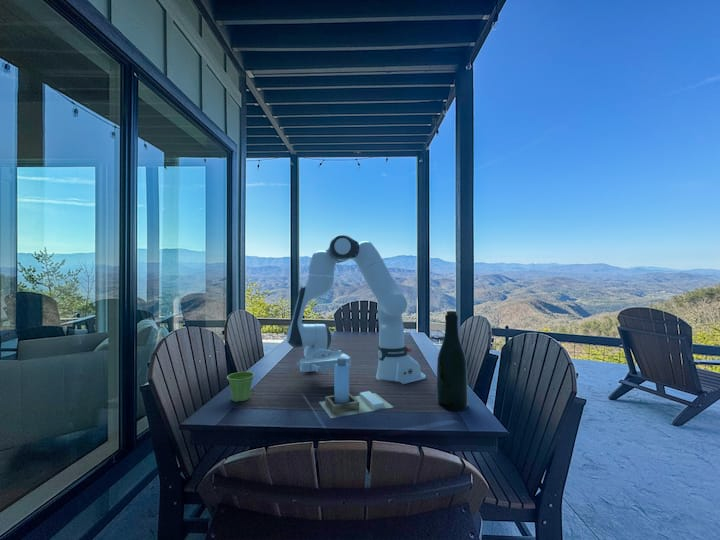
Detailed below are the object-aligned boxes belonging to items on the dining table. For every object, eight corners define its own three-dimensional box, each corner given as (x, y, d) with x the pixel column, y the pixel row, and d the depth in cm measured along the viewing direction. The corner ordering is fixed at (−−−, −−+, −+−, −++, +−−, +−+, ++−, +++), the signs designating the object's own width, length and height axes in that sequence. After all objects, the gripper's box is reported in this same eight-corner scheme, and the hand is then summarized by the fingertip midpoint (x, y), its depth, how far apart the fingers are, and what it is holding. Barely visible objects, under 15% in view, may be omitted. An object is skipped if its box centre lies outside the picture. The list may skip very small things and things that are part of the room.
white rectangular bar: (369, 395, 118) (369, 391, 118) (384, 407, 107) (384, 402, 107) (359, 396, 117) (359, 392, 117) (373, 409, 105) (373, 404, 106)
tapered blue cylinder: (346, 402, 111) (346, 356, 111) (351, 408, 106) (351, 360, 106) (332, 405, 109) (332, 358, 109) (337, 410, 104) (337, 361, 105)
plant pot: (237, 406, 111) (238, 380, 111) (221, 400, 116) (221, 376, 116) (259, 397, 119) (259, 374, 119) (242, 392, 124) (243, 370, 124)
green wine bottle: (446, 397, 119) (446, 308, 120) (473, 405, 112) (472, 311, 112) (430, 405, 112) (430, 310, 113) (458, 414, 104) (457, 313, 105)
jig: (375, 396, 120) (375, 386, 120) (393, 410, 107) (393, 399, 107) (318, 405, 112) (318, 394, 112) (331, 422, 99) (331, 410, 99)
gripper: (295, 354, 128) (303, 362, 115) (343, 349, 136) (356, 357, 123) (295, 370, 128) (303, 380, 115) (343, 364, 136) (356, 373, 123)
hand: (331, 368), depth 119 cm, fingers open, 8 cm apart
